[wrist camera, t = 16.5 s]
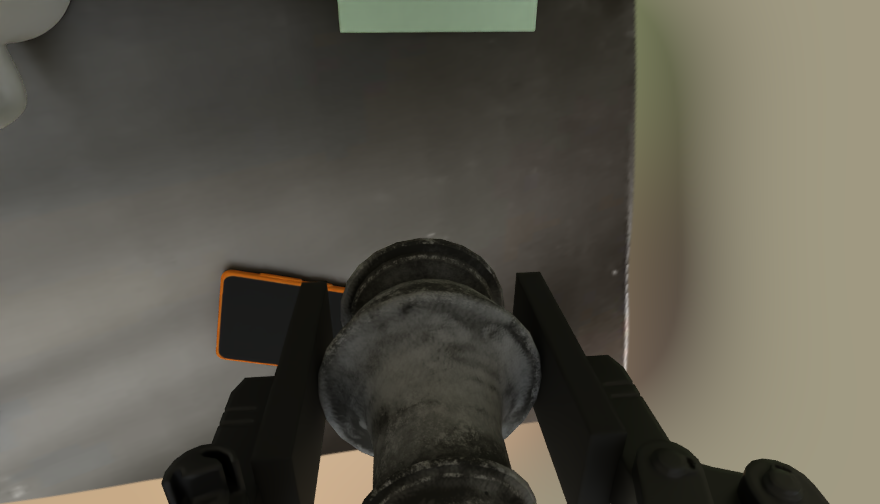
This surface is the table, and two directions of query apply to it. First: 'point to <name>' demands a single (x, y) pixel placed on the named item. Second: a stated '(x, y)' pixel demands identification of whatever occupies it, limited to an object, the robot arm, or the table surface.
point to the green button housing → (436, 16)
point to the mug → (15, 20)
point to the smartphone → (261, 315)
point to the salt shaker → (431, 376)
